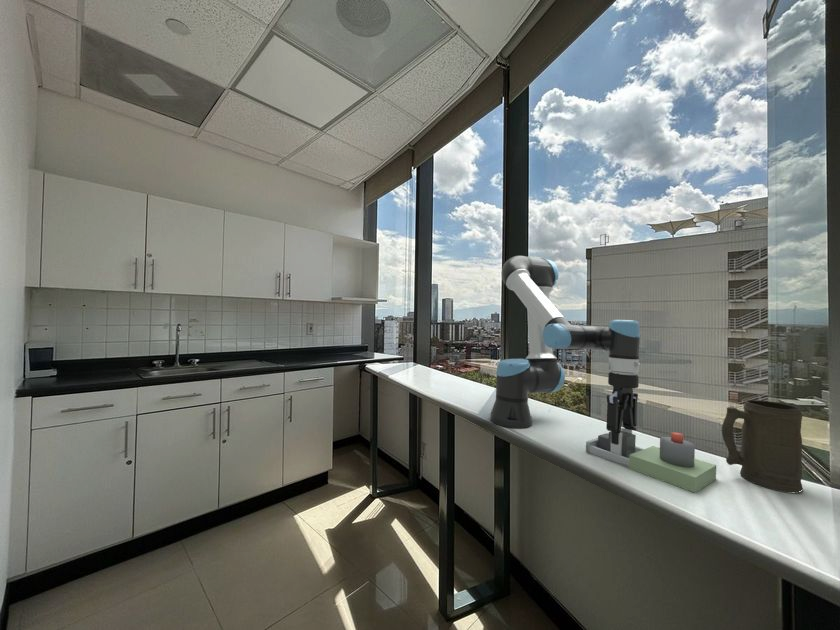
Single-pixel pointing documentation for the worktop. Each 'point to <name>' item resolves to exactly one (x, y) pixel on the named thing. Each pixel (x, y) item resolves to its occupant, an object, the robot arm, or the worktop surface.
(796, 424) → the beer stein
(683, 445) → the green slab with knob
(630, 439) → the squat charcoal block
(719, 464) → the worktop surface
